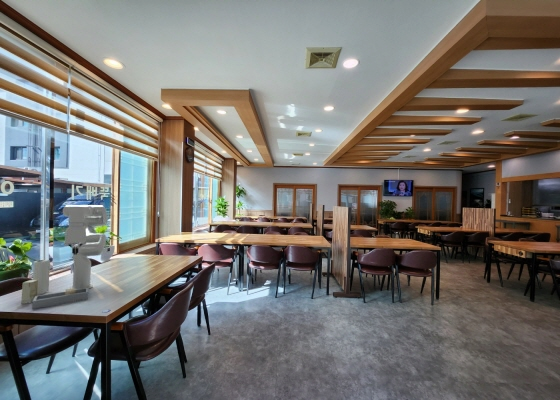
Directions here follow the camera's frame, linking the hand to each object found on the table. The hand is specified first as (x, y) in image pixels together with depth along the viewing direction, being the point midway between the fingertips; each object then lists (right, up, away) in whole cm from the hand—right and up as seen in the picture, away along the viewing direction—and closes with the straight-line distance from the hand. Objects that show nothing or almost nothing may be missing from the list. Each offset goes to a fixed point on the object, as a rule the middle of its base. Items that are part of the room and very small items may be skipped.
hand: (75, 254), depth 151 cm
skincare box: (-21, -27, -8) cm, 35 cm away
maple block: (+1, -25, -5) cm, 25 cm away
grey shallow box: (-2, -27, -7) cm, 28 cm away
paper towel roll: (-28, -27, +6) cm, 40 cm away
